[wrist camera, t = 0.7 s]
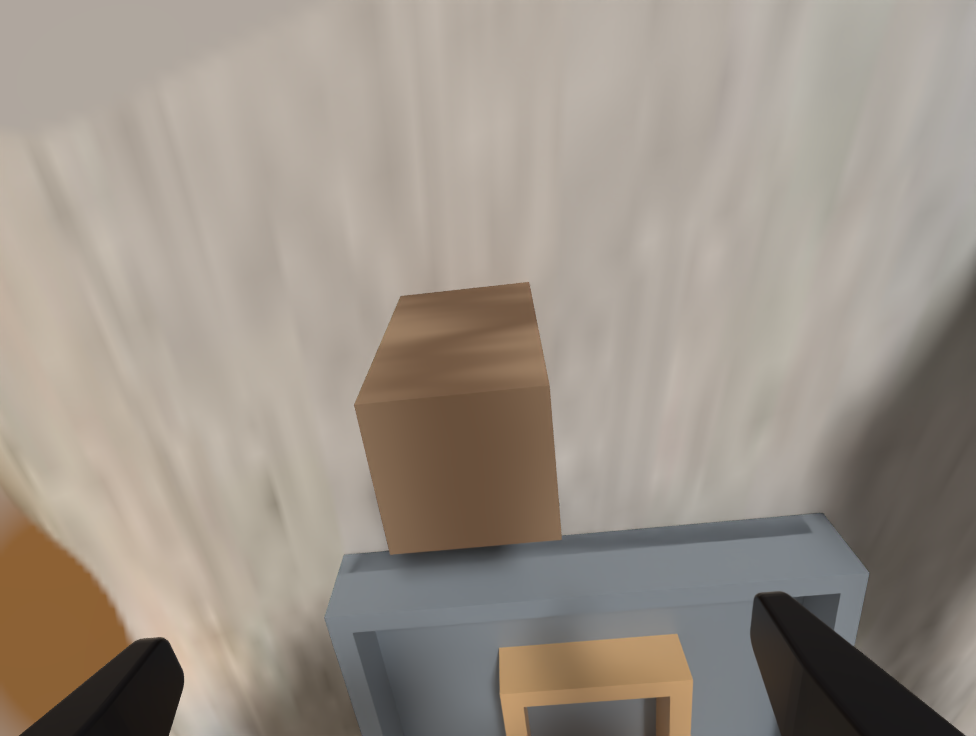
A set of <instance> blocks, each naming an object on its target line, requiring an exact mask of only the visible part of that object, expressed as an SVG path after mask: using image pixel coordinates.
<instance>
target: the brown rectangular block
mask: <svg viewBox="0 0 976 736" xmlns="http://www.w3.org/2000/svg"><path fill="white" fill-rule="evenodd" d="M354 407H355V411H356V415H357V419H358V423H359V427H360V432H361V436H362V440H363V444H364V448H365V452H366V457H367V461H368V465H369V469H370V473H371V477H372V481H373V486H374V490H375V494H376V498H377V502H378V506H379V511H380V515H381V519H382V523H383V527H384V531H385V536H386V540H387V544H388V548H389V552H390V555H393V554H405V553H416V552H428V551H439V550H451V549H462V548H474V547H485V546H497V545H508V544H520V543H531V542H543V541H554V540H562V535H561V523H560V510H559V498H558V485H557V473H556V460H555V448H554V435H553V423H552V410H551V398H550V385H549V380H548V375H547V370H546V365H545V360H544V355H543V350H542V345H541V340H540V335H539V330H538V325H537V320H536V315H535V309H534V304H533V299H532V294H531V289H530V284H529V282H525V283H516V284H507V285H498V286H489V287H479V288H470V289H461V290H452V291H443V292H434V293H425V294H416V295H407V296H401V297H400V299H399V301H398V304H397V306H396V308H395V311H394V313H393V315H392V318H391V320H390V322H389V325H388V327H387V329H386V332H385V334H384V336H383V339H382V341H381V343H380V346H379V348H378V350H377V353H376V355H375V357H374V360H373V362H372V364H371V367H370V369H369V371H368V374H367V376H366V378H365V381H364V383H363V385H362V388H361V390H360V392H359V395H358V397H357V399H356V402H355V404H354Z"/></svg>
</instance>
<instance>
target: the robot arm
mask: <svg viewBox="0 0 976 736" xmlns="http://www.w3.org/2000/svg"><path fill="white" fill-rule="evenodd" d="M750 639H751V644H752V648H753V652H754V655H755V658H756V661H757V664H758V667H759V670H760V673H761V676H762V679H763V682H764V685H765V688H766V691H767V694H768V697H769V700H770V703H771V706H772V709H773V712H774V715H775V718H776V721H777V724H778V727H779V731H780V734H781V736H965V735H964V734H963V733H962V732H960V731H959V730H958V729H957V728H955V727H954V726H953V725H952V724H950V723H949V722H948V721H947V720H945V719H944V718H943V717H942V716H940V715H939V714H938V713H937V712H935V711H934V710H933V709H932V708H930V707H929V706H928V705H927V704H925V703H924V702H923V701H922V700H920V699H919V698H918V697H917V696H915V695H914V694H913V693H912V692H910V691H909V690H908V689H907V688H905V687H904V686H903V685H902V684H900V683H899V682H898V681H897V680H895V679H894V678H893V677H892V676H890V675H889V674H888V673H887V672H885V671H884V670H883V669H882V668H880V667H879V666H878V665H877V664H875V663H874V662H873V661H872V660H870V659H869V658H868V657H867V656H865V655H864V654H863V653H862V652H860V651H859V650H858V649H857V648H855V647H854V646H853V645H852V644H850V643H849V642H848V641H846V640H845V639H844V638H843V637H841V636H840V635H839V634H838V633H836V632H835V631H834V630H833V629H831V628H830V627H829V626H828V625H826V624H825V623H824V622H823V621H821V620H820V619H819V618H818V617H816V616H815V615H814V614H813V613H811V612H810V611H809V610H808V609H806V608H805V607H804V606H803V605H801V604H800V603H799V602H798V601H796V600H795V599H794V598H793V597H791V596H790V595H789V594H787V593H785V592H782V591H773V592H760V593H757V594H756V595H755V597H754V599H753V607H752V617H751V626H750ZM183 686H184V673H183V670H182V668H181V666H180V664H179V661H178V659H177V657H176V655H175V653H174V651H173V649H172V647H171V645H170V643H169V641H168V640H166V639H165V638H162V637H157V638H144V639H139V640H137V641H135V642H133V643H132V644H131V645H129V646H128V647H127V648H126V649H124V650H123V651H122V652H121V653H120V654H118V655H117V656H116V657H115V658H114V659H112V660H111V661H110V662H109V663H107V664H106V665H105V666H104V667H103V668H101V669H100V670H99V671H98V672H96V673H95V674H94V675H93V676H91V677H90V678H89V679H88V680H87V681H85V682H84V683H83V684H82V685H81V686H79V687H78V688H77V689H76V690H74V691H73V692H72V693H71V694H69V695H68V696H67V697H66V698H65V699H63V700H62V701H61V702H60V703H59V704H57V705H56V706H55V707H54V708H52V709H51V710H50V711H49V712H48V713H46V714H45V715H44V716H43V717H42V718H40V719H39V720H38V721H37V722H35V723H34V724H33V725H32V726H30V727H29V728H28V729H27V730H25V731H24V732H23V733H22V734H21V735H19V736H169V733H170V730H171V727H172V724H173V720H174V717H175V714H176V710H177V707H178V704H179V701H180V697H181V694H182V691H183Z"/></svg>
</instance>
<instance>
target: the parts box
mask: <svg viewBox="0 0 976 736" xmlns="http://www.w3.org/2000/svg"><path fill="white" fill-rule="evenodd" d="M868 578H869V572H868V570H867V569H866V568H865V566H864V565H863V564H862V563H861V561H860V560H859V559H858V557H857V556H856V555H855V554H854V552H853V551H852V550H851V549H850V547H849V546H848V545H847V543H846V542H845V541H844V540H843V538H842V537H841V536H840V534H839V533H838V532H837V531H836V529H835V528H834V527H833V525H832V524H831V523H830V522H829V520H828V519H827V518H826V516H825V515H824V514H823V513H815V514H804V515H793V516H781V517H770V518H758V519H747V520H736V521H724V522H713V523H702V524H690V525H679V526H667V527H656V528H645V529H633V530H622V531H610V532H599V533H588V534H576V535H565V536H562V540H554V541H543V542H531V543H520V544H508V545H497V546H485V547H474V548H462V549H451V550H439V551H428V552H416V553H405V554H393V555H390V552H389V551H383V552H371V553H360V554H349V555H344V556H343V559H342V563H341V566H340V569H339V572H338V575H337V579H336V582H335V585H334V588H333V591H332V595H331V598H330V601H329V604H328V607H327V611H326V614H325V617H324V619H325V622H326V625H327V628H328V631H329V634H330V637H331V640H332V644H333V647H334V650H335V653H336V656H337V659H338V662H339V665H340V668H341V672H342V675H343V678H344V681H345V684H346V687H347V690H348V693H349V697H350V700H351V703H352V706H353V709H354V712H355V715H356V718H357V722H358V725H359V728H360V731H361V734H362V736H781V734H780V731H779V727H778V724H777V721H776V718H775V715H774V712H773V709H772V706H771V703H770V700H769V697H768V694H767V691H766V688H765V685H764V682H763V679H762V676H761V673H760V670H759V667H758V664H757V661H756V658H755V655H754V652H753V648H752V644H751V639H750V626H751V617H752V607H753V599H754V597H755V595H756V594H757V593H760V592H773V591H782V592H785V593H787V594H789V595H790V596H791V597H793V598H794V599H795V600H796V601H798V602H799V603H800V604H801V605H803V606H804V607H805V608H806V609H808V610H809V611H810V612H811V613H813V614H814V615H815V616H816V617H818V618H819V619H820V620H821V621H823V622H824V623H825V624H826V625H828V626H829V627H830V628H831V629H833V630H834V631H835V632H836V633H838V634H839V635H840V636H841V637H843V638H844V639H845V640H846V641H848V642H849V643H850V644H852V645H853V646H854V645H855V640H856V635H857V631H858V626H859V621H860V616H861V611H862V607H863V602H864V597H865V592H866V587H867V583H868Z"/></svg>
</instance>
